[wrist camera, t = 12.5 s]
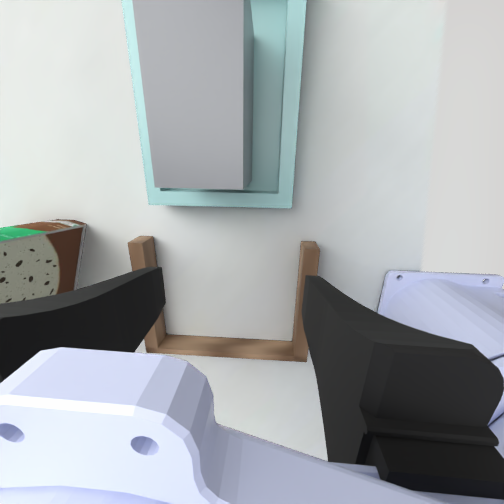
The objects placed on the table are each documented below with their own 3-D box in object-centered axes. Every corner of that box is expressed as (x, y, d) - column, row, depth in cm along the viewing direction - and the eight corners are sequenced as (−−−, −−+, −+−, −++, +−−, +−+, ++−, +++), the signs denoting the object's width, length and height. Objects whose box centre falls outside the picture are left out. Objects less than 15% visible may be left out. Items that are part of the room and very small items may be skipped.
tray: (304, -28, 15) (311, -65, 12) (288, 203, 19) (291, 208, 17) (137, -23, 15) (113, -57, 13) (162, 200, 20) (148, 204, 18)
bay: (315, 241, 20) (320, 249, 19) (303, 346, 24) (306, 362, 22) (140, 235, 21) (127, 242, 19) (155, 338, 25) (146, 352, 23)
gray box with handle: (254, 15, 15) (243, -101, 8) (252, 180, 18) (242, 189, 12) (184, 16, 15) (120, -96, 9) (194, 179, 19) (154, 187, 12)
